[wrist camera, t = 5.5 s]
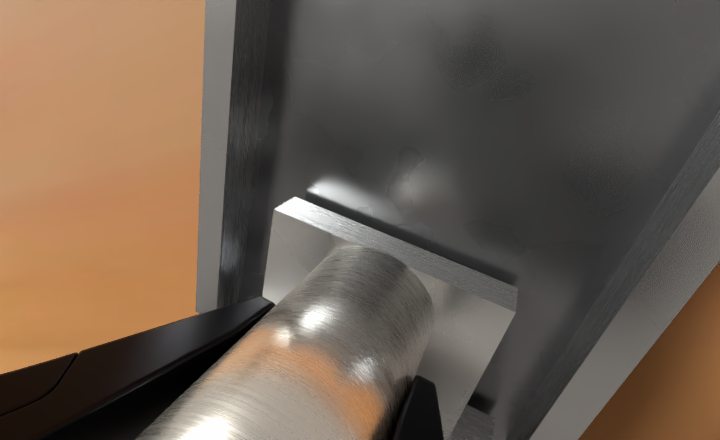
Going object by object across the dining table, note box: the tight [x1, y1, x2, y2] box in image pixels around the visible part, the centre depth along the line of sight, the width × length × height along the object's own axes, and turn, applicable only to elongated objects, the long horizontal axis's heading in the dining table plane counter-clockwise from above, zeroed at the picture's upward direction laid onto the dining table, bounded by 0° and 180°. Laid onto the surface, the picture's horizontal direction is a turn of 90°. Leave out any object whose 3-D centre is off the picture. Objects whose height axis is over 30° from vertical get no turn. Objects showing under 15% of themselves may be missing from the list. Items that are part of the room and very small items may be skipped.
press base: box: [196, 0, 720, 440], centre depth 11 cm, size 24×12×6 cm, turn 167°
